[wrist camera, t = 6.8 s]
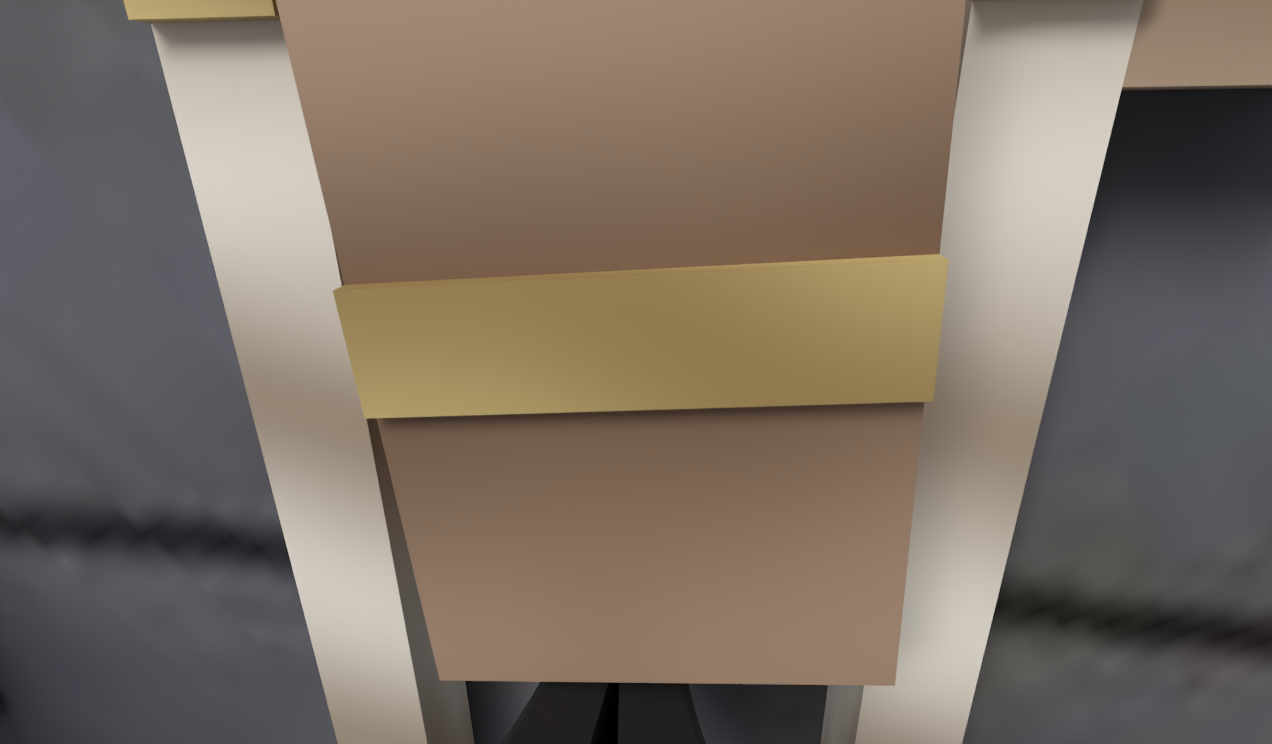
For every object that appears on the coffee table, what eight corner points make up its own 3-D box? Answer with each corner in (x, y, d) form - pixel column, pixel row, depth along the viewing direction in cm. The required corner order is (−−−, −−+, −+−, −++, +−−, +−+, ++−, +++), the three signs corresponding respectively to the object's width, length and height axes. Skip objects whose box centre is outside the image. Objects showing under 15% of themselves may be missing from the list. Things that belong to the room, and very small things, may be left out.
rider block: (822, 484, 11) (900, 701, 7) (524, 490, 11) (433, 695, 7) (847, -103, 8) (1012, -326, 4) (438, -60, 8) (206, -217, 4)
